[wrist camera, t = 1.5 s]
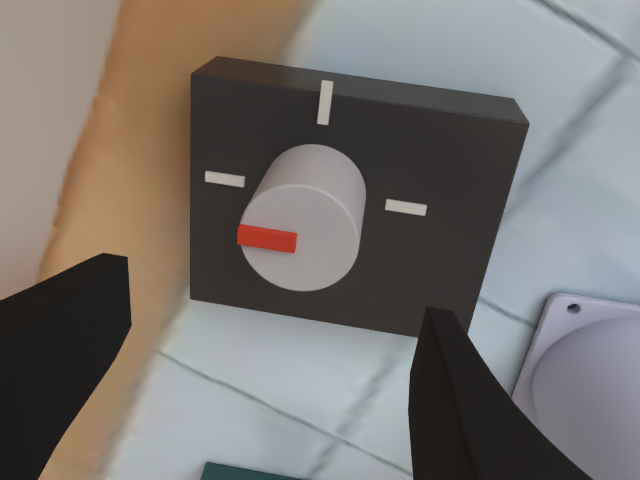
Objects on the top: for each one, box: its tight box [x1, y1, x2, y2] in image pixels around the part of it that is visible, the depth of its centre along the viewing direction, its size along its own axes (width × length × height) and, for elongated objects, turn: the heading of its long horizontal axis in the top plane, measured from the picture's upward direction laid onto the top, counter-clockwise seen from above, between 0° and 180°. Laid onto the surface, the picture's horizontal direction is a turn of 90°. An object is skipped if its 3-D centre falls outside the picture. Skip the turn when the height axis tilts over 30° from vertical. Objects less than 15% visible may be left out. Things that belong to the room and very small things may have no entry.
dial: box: [237, 144, 366, 291], centre depth 18 cm, size 4×4×4 cm
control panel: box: [190, 56, 529, 338], centre depth 22 cm, size 11×9×3 cm
